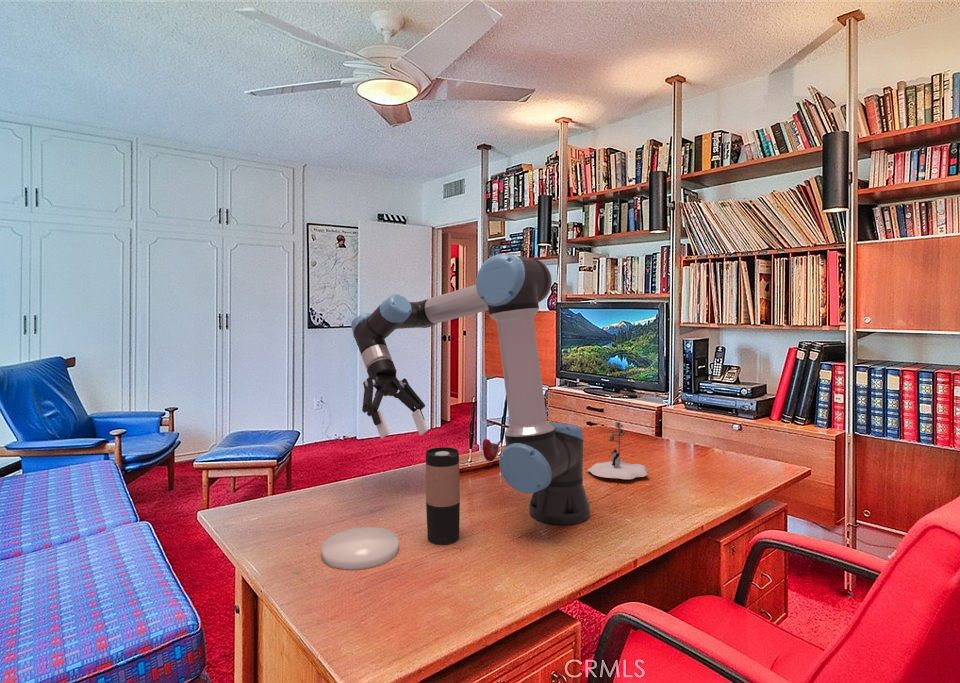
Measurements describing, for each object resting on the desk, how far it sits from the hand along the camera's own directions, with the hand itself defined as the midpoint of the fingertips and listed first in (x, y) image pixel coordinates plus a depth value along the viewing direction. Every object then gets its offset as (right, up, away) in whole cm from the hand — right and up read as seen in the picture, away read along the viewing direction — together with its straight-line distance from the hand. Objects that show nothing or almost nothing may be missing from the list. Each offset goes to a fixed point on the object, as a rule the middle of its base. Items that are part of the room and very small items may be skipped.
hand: (405, 434), depth 137 cm
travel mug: (+11, -21, -17) cm, 29 cm away
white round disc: (-6, -21, -23) cm, 32 cm away
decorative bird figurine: (+24, -17, +40) cm, 50 cm away
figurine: (+63, -18, +29) cm, 71 cm away
